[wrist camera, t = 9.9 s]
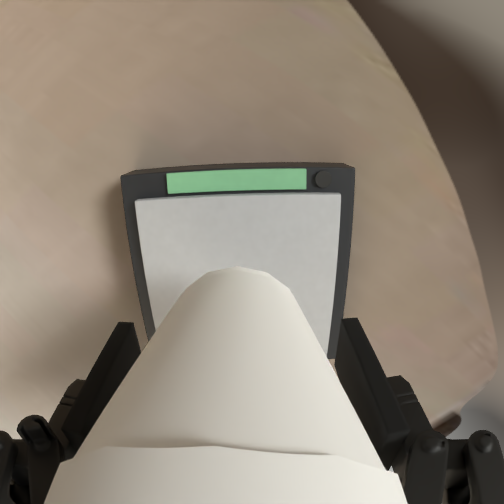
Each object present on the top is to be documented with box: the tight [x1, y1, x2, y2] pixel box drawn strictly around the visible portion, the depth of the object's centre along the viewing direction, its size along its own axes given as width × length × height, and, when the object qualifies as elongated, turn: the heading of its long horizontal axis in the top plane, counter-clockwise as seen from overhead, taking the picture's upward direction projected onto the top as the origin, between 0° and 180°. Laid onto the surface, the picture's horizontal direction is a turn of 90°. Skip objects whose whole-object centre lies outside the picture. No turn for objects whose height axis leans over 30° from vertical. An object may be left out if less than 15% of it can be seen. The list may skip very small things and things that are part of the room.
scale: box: [121, 162, 355, 359], centre depth 21 cm, size 14×14×3 cm
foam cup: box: [44, 266, 408, 504], centre depth 10 cm, size 10×9×13 cm
